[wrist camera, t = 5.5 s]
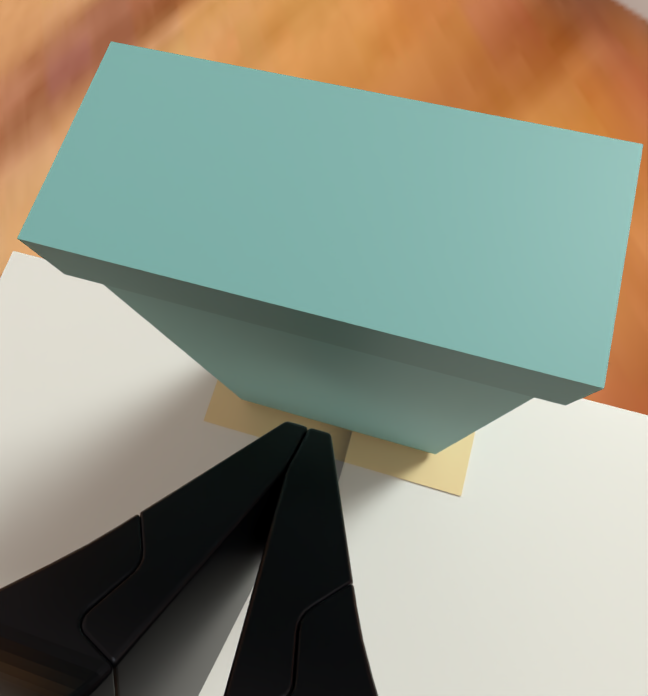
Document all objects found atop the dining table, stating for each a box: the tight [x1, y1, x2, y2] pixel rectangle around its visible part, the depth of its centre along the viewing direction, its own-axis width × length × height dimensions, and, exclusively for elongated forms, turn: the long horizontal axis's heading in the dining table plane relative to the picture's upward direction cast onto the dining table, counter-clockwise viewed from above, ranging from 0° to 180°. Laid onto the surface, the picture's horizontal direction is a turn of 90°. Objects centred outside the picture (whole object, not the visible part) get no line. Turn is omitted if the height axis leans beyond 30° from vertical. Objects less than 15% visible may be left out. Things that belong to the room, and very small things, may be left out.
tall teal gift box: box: [17, 42, 643, 454], centre depth 11 cm, size 3×6×11 cm, turn 74°
